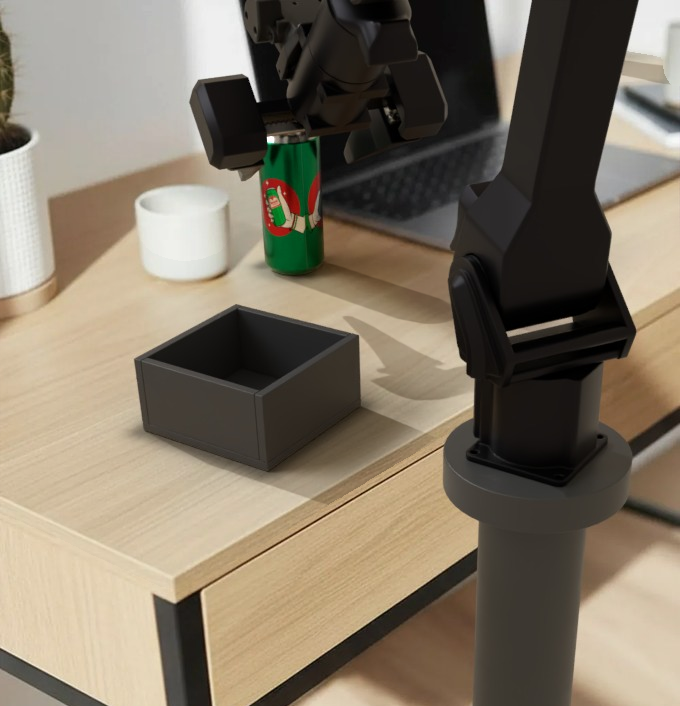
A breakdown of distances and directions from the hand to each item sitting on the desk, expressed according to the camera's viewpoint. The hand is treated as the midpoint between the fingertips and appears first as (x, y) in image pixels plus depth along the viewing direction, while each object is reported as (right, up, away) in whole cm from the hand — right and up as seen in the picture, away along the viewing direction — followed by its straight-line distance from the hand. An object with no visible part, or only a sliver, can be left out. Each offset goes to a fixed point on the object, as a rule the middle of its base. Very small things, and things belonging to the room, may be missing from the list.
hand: (295, 166), depth 96 cm
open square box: (-2, -21, -17) cm, 28 cm away
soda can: (0, -7, +6) cm, 9 cm away
